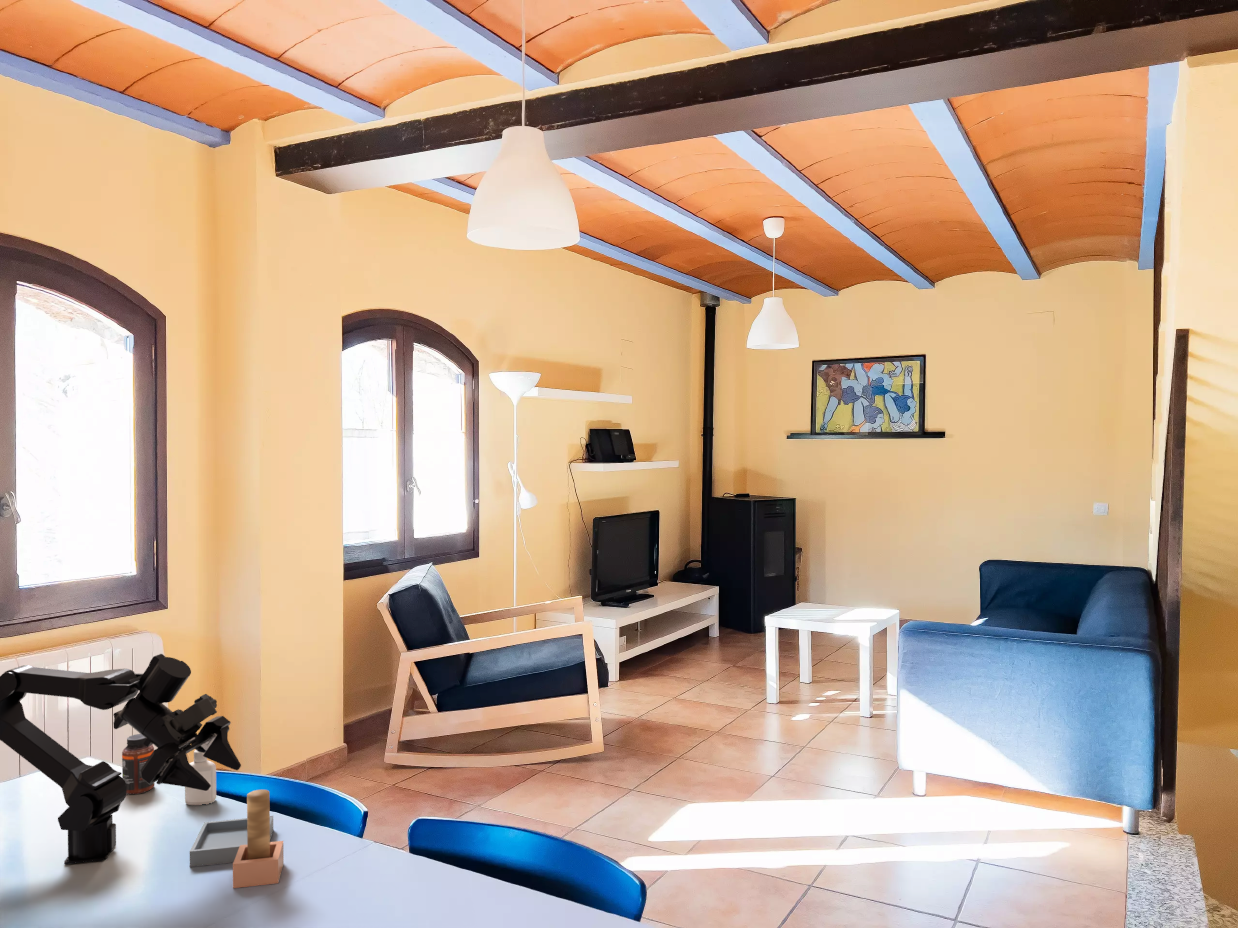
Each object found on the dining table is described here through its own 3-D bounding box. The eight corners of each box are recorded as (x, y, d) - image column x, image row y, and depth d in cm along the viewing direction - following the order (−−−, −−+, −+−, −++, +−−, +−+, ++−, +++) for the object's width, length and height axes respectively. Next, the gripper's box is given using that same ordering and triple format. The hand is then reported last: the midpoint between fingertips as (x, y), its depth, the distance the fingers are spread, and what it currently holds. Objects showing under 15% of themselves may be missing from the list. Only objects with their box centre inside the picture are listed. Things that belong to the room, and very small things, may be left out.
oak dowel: (246, 881, 147) (245, 798, 146) (249, 871, 150) (248, 790, 150) (268, 879, 148) (267, 796, 147) (271, 869, 151) (270, 788, 151)
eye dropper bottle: (201, 808, 176) (200, 749, 175) (181, 803, 178) (181, 744, 178) (219, 800, 180) (219, 742, 179) (200, 795, 182) (199, 738, 182)
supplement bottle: (160, 784, 188) (160, 732, 187) (143, 795, 182) (142, 741, 182) (134, 783, 188) (133, 731, 188) (116, 794, 182) (115, 740, 182)
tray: (189, 866, 152) (189, 851, 152) (204, 836, 163) (204, 822, 163) (264, 858, 155) (264, 843, 155) (273, 829, 166) (273, 815, 166)
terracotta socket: (232, 888, 145) (232, 864, 144) (240, 867, 151) (240, 844, 151) (278, 882, 146) (278, 859, 146) (283, 863, 153) (283, 840, 153)
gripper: (145, 702, 144) (218, 761, 142) (212, 672, 162) (277, 724, 161) (109, 755, 145) (181, 814, 144) (180, 719, 163) (244, 771, 162)
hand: (224, 777), depth 152 cm, fingers open, 9 cm apart
